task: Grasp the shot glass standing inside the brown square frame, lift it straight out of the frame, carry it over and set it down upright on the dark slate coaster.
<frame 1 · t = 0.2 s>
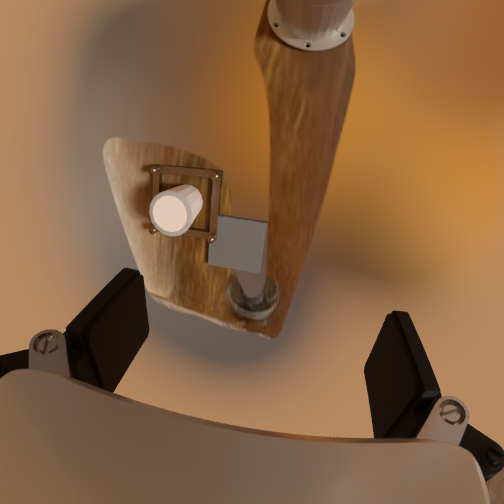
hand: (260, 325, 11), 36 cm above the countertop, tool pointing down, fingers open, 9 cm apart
coaster: (236, 242, 50), on the countertop
shot glass: (186, 200, 48), resting in brown square frame
brown square frame: (186, 201, 48), on the countertop
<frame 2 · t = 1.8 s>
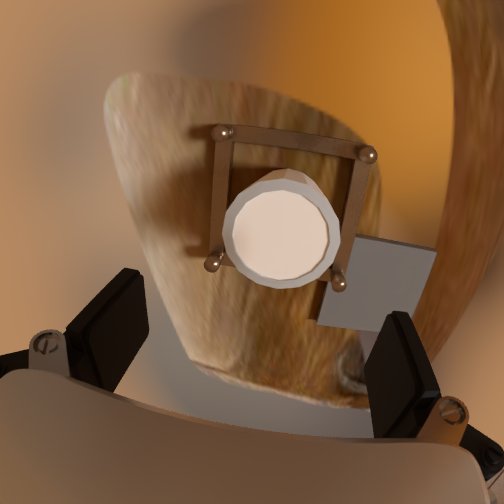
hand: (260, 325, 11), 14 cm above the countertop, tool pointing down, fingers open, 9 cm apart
coaster: (375, 285, 25), on the countertop
shot glass: (286, 203, 23), resting in brown square frame
brown square frame: (286, 203, 23), on the countertop
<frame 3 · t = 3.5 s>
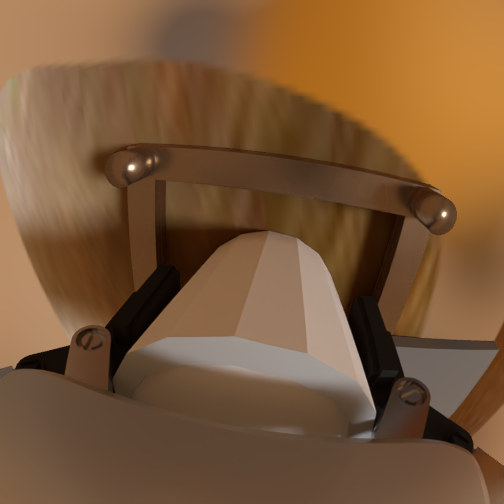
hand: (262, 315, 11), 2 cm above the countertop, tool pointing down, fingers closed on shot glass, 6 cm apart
coaster: (402, 395, 15), on the countertop
shot glass: (266, 290, 13), resting in brown square frame, touching gripper
brown square frame: (266, 291, 13), on the countertop
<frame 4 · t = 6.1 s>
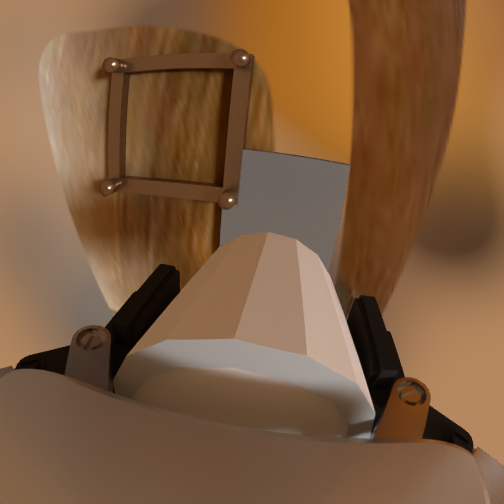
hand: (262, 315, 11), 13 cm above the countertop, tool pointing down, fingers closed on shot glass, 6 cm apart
coaster: (281, 211, 23), on the countertop
shot glass: (266, 291, 13), point 11 cm above the countertop, touching gripper
brown square frame: (174, 124, 21), on the countertop
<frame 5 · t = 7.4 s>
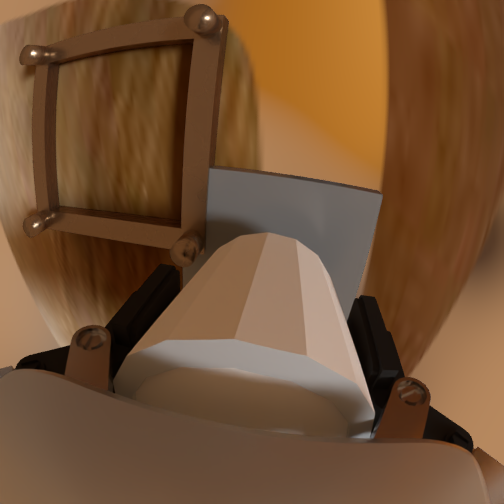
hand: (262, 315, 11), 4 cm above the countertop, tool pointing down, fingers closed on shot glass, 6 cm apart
coaster: (272, 261, 15), on the countertop
shot glass: (266, 291, 13), point 3 cm above the countertop, touching gripper
brown square frame: (113, 131, 14), on the countertop
when the fingers open (3 cm above the countertop, at t = 8.7 s): shot glass stays where it is, resting on coaster.
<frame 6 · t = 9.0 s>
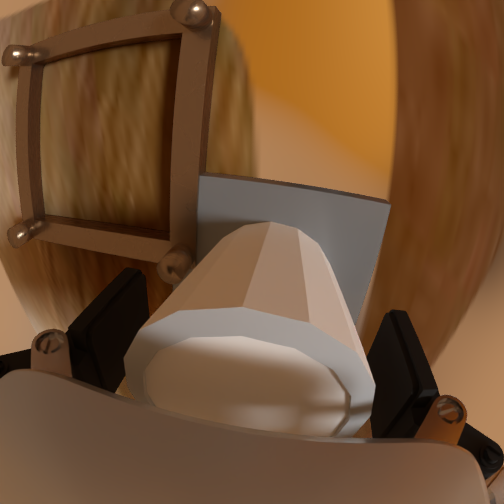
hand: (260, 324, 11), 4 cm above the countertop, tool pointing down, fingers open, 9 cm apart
coaster: (269, 276, 14), on the countertop
shot glass: (269, 279, 13), point 1 cm above the countertop, touching coaster
brown square frame: (97, 135, 12), on the countertop
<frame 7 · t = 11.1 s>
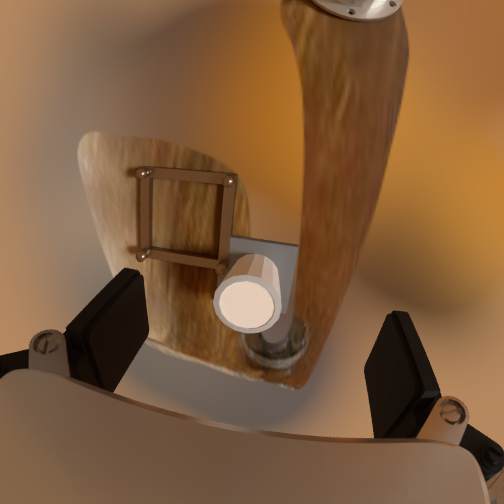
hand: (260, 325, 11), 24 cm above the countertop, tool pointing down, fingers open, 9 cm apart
coaster: (255, 273, 37), on the countertop
shot glass: (255, 274, 36), point 1 cm above the countertop, touching coaster
brown square frame: (186, 216, 35), on the countertop
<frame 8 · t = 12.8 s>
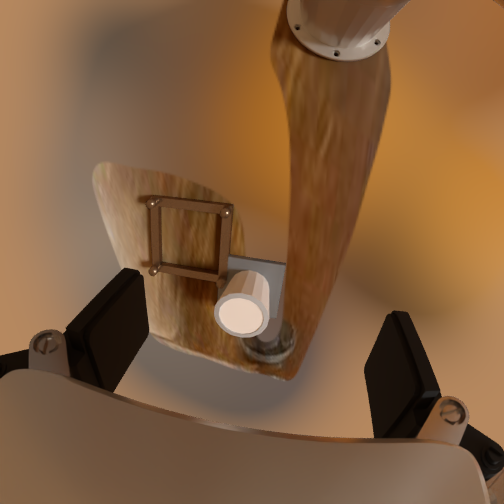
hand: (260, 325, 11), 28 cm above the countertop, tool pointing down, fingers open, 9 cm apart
coaster: (250, 285, 43), on the countertop
shot glass: (249, 286, 43), point 1 cm above the countertop, touching coaster
brown square frame: (190, 238, 42), on the countertop
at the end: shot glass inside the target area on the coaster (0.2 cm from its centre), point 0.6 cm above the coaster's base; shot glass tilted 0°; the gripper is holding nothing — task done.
